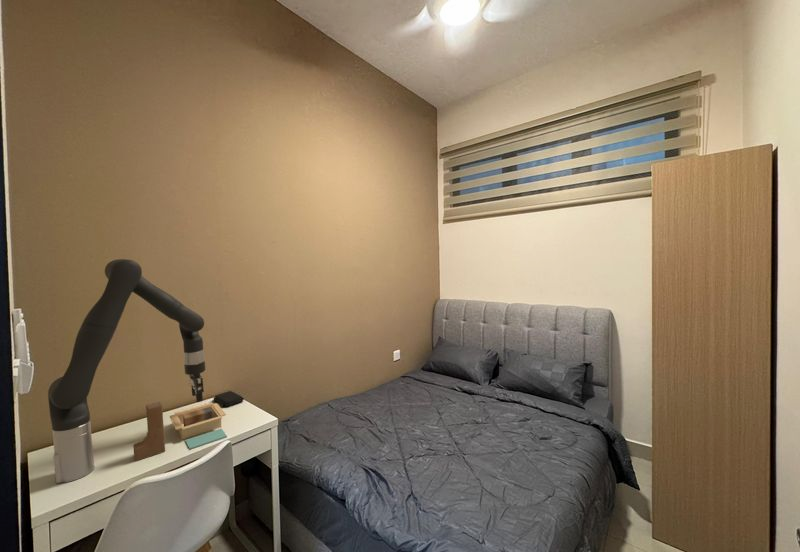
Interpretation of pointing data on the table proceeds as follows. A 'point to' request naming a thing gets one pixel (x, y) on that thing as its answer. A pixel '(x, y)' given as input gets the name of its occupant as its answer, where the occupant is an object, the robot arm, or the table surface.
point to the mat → (205, 438)
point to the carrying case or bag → (228, 399)
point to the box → (197, 416)
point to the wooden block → (152, 433)
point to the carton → (200, 426)
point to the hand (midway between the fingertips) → (197, 398)
